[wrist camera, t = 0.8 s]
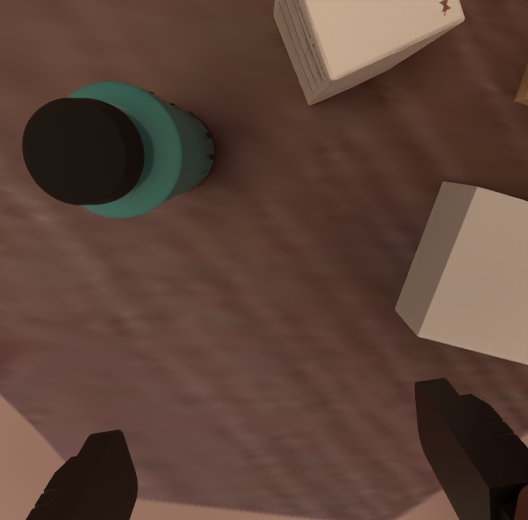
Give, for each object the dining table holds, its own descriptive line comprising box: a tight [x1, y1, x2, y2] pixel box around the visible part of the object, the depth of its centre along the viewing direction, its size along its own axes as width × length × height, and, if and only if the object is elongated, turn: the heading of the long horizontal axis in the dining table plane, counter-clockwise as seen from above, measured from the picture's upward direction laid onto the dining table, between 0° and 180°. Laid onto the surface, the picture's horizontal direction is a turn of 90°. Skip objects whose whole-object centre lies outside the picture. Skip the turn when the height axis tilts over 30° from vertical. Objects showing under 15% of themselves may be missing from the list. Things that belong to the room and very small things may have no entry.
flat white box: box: [395, 181, 528, 365], centre depth 35 cm, size 12×12×6 cm
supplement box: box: [273, 0, 465, 105], centre depth 26 cm, size 7×7×13 cm
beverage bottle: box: [22, 81, 216, 218], centre depth 25 cm, size 6×7×20 cm
